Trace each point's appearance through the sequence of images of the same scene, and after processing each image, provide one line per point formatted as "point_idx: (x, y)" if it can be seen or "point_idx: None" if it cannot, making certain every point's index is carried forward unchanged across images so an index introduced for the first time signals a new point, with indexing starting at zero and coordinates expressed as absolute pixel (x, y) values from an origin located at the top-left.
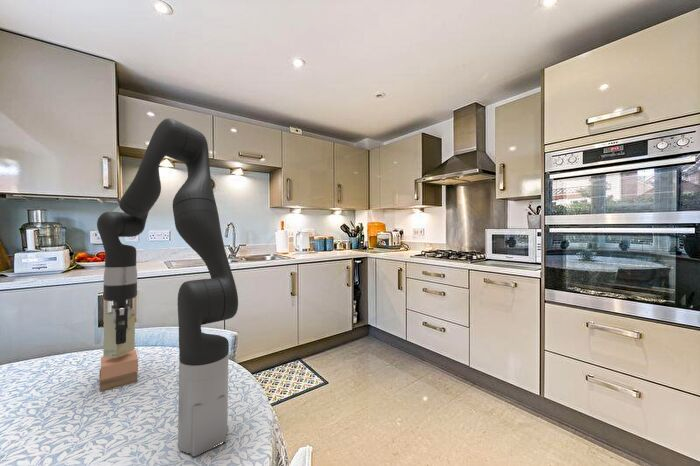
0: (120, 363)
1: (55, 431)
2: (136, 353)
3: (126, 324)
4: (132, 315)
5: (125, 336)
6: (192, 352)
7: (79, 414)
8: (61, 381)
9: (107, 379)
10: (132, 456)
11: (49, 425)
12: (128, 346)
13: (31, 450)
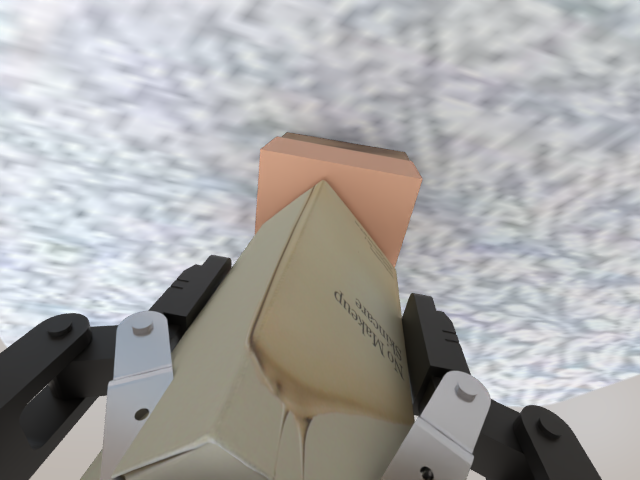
0: (399, 246)
1: (515, 353)
2: (331, 163)
3: (591, 472)
4: (292, 379)
5: (439, 327)
6: None
7: (479, 312)
8: None
9: None
10: None
11: (470, 355)
12: (355, 234)
13: (551, 385)
